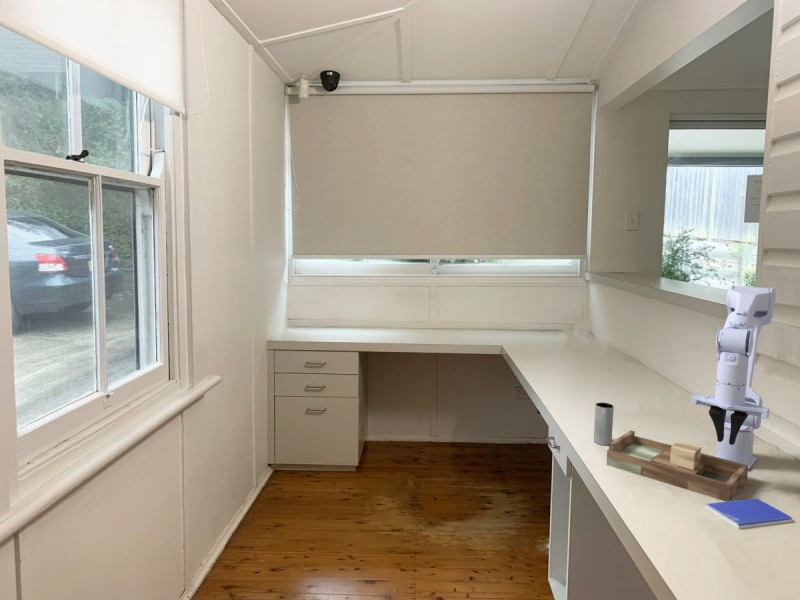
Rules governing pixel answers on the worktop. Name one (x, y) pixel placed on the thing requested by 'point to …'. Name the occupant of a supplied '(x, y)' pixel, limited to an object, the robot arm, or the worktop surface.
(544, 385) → the worktop surface
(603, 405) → the planter
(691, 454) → the maple block
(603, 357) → the worktop surface
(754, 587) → the worktop surface
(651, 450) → the tray
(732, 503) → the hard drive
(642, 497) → the worktop surface
